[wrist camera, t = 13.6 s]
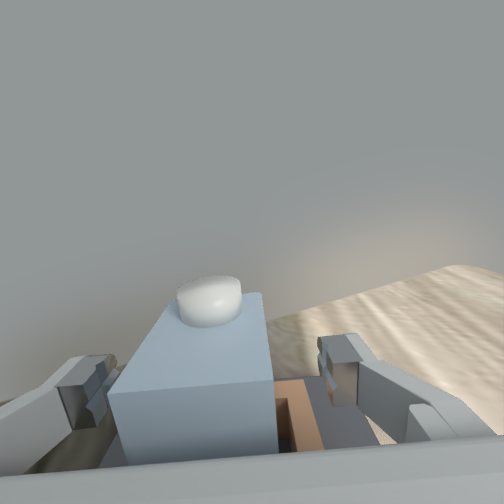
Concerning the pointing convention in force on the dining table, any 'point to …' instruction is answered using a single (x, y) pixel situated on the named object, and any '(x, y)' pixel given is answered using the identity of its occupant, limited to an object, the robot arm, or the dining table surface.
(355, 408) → the plate
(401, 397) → the robot arm
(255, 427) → the light blue tall block
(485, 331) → the dining table surface
